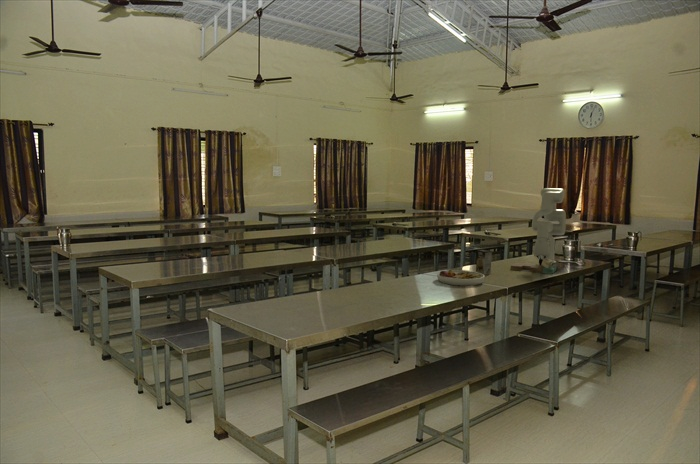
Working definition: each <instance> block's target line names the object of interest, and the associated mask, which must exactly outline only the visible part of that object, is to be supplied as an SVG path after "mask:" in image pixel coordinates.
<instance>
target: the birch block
mask: <svg viewBox="0 0 700 464" xmlns="http://www.w3.org/2000/svg"><path fill="white" fill-rule="evenodd" d="M553 264H554V263H553V261H552V260H550V259H548V258H545V259H543V261H542V264H541V265H540V266H544V267H546V268H550V267H551V266H553Z"/></svg>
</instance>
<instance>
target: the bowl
mask: <svg viewBox="0 0 700 464" xmlns="http://www.w3.org/2000/svg"><path fill="white" fill-rule="evenodd" d="M436 277H437V279H438V281H439V282H441V283H443V284H445V285H450V286H458V285H460V286H459V287H463V286H464V287H466V286H467V287H469V286H471V285H472V286H478V285H480V284H482V283H483V282H484V281H485V277H486V276H485V274H481V273H477V272H476V271H471V270H461V269H460V270H458V269H457V270H453V269H449V270H441V271H438V272H437V273H436ZM472 286H471V287H472Z"/></svg>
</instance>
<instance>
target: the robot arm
mask: <svg viewBox="0 0 700 464" xmlns="http://www.w3.org/2000/svg"><path fill="white" fill-rule="evenodd" d="M540 196H541V205H540V209H539V210H538V211H536V212H535V213H534V214H533V217H532V223H531V230H532V231H533V232H536V241H535V244H534V250H533V257H535V258H537V259H538V264H539V266H542V265H541V264H542V261H543V259H545V258H548V259H550V260H552V261H553V263H552V264H557V261H556V260H555V249H556V248H555V247H556V239H555V238H554V237H553V236H564V235H565V234H566V229H567V228H566V225H567V224H566V222H567V214H566V211H565V210H564V209H560V208H559V209H557V204H562V203H563V201H564V199H565V196H566V192H565V189H564V188H557V187H556V188H551V187H545V188H541V190H540ZM541 217H544V221H541V220H540V221H539V219H540V218H541Z"/></svg>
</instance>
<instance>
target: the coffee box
mask: <svg viewBox="0 0 700 464" xmlns="http://www.w3.org/2000/svg"><path fill="white" fill-rule="evenodd" d="M492 254H493V250H492V251H490V250H487V249H476V260H475V261H476V262H475V263H476V267H475V272H477V273H481V274H483V275H491V273H492V258H493V257H492V256H493V255H492Z"/></svg>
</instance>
